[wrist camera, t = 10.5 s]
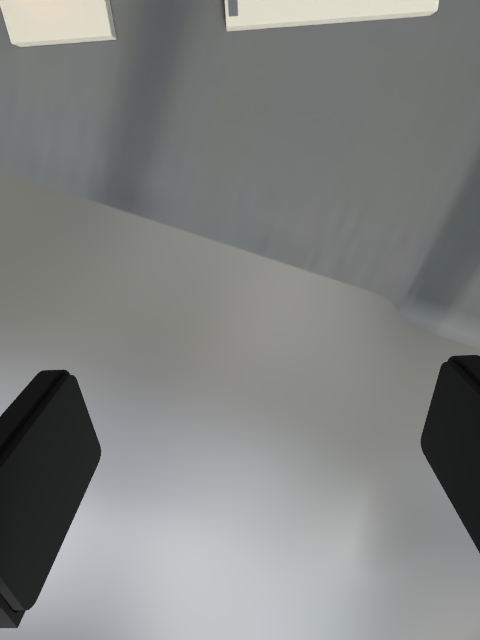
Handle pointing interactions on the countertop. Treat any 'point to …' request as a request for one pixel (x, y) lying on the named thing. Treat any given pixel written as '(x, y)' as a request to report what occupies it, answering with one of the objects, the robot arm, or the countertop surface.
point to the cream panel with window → (318, 12)
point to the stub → (57, 21)
